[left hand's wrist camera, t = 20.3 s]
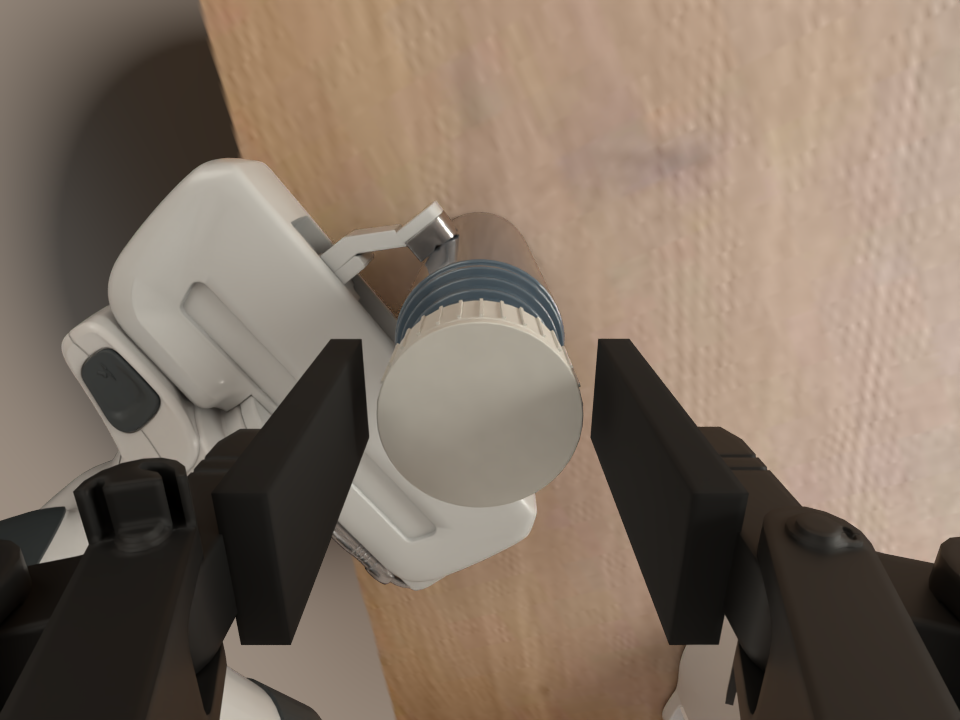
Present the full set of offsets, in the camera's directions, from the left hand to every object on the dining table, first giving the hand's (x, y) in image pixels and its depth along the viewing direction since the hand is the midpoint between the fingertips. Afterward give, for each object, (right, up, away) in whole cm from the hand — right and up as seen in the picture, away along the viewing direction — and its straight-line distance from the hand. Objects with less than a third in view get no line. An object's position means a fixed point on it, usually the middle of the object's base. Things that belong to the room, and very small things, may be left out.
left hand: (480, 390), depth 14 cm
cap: (0, -1, -1) cm, 1 cm away
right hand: (+1, +4, +9) cm, 10 cm away
